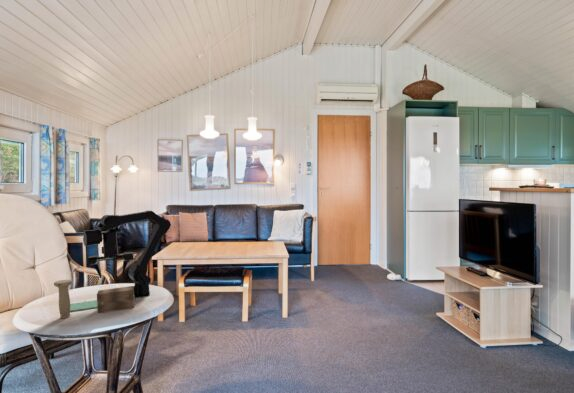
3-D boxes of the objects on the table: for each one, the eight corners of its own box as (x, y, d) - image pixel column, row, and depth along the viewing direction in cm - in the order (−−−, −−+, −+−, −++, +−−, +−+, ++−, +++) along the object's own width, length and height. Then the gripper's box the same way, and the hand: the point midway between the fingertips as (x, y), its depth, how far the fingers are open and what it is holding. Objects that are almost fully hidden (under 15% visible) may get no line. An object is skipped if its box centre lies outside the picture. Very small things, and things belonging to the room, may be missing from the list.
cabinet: (134, 303, 159) (133, 285, 158) (133, 308, 151) (132, 290, 151) (100, 308, 154) (98, 290, 153) (97, 314, 146) (96, 295, 146)
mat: (100, 300, 163) (100, 299, 163) (97, 308, 154) (97, 306, 154) (66, 305, 158) (65, 304, 158) (60, 313, 149) (60, 312, 149)
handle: (70, 319, 142) (67, 282, 141) (53, 320, 142) (51, 283, 141) (76, 314, 147) (74, 279, 146) (61, 315, 147) (58, 280, 146)
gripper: (133, 238, 170) (135, 269, 171) (89, 241, 163) (92, 274, 164) (132, 241, 160) (134, 275, 160) (85, 245, 153) (87, 281, 154)
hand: (112, 276), depth 160 cm, fingers open, 9 cm apart
